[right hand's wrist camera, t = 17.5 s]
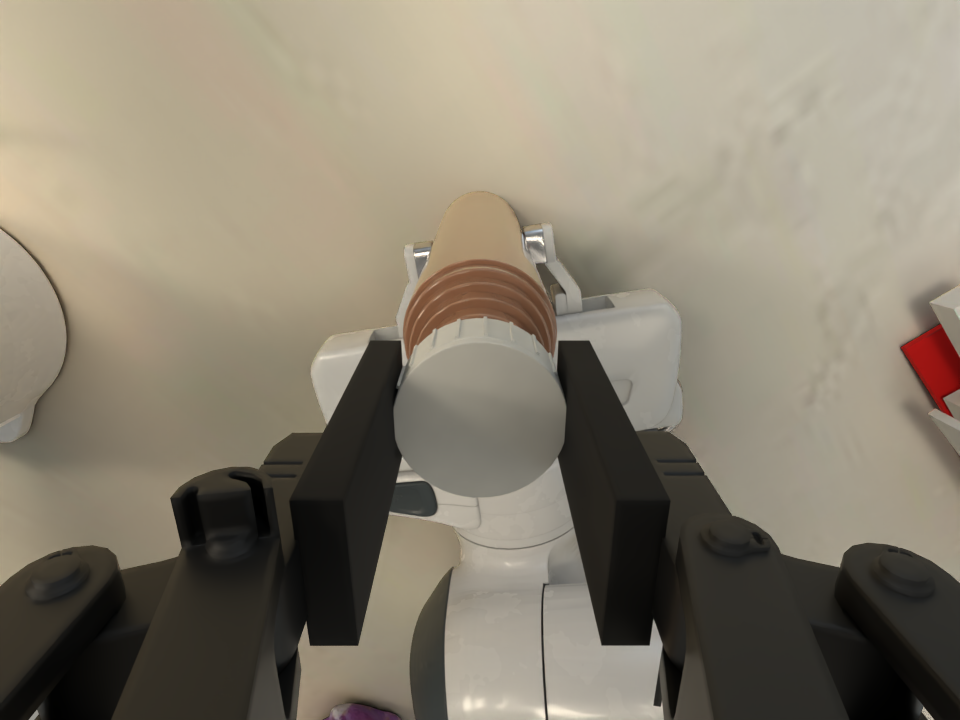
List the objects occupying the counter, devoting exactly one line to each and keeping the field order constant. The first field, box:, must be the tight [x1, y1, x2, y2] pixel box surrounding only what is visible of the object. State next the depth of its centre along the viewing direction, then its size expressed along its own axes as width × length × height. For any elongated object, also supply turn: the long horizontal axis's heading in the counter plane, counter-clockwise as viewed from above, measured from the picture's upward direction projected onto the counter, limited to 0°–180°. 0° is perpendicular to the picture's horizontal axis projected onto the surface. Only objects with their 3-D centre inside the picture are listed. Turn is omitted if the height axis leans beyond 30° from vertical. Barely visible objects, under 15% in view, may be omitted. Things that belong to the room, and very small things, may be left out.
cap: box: [393, 316, 566, 498], centre depth 14 cm, size 4×4×2 cm
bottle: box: [403, 191, 557, 360], centre depth 25 cm, size 5×5×25 cm
